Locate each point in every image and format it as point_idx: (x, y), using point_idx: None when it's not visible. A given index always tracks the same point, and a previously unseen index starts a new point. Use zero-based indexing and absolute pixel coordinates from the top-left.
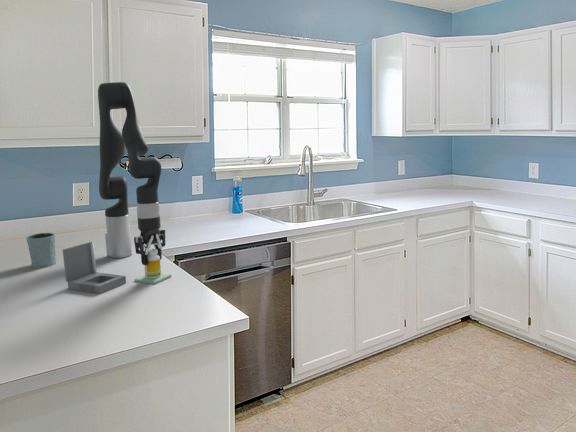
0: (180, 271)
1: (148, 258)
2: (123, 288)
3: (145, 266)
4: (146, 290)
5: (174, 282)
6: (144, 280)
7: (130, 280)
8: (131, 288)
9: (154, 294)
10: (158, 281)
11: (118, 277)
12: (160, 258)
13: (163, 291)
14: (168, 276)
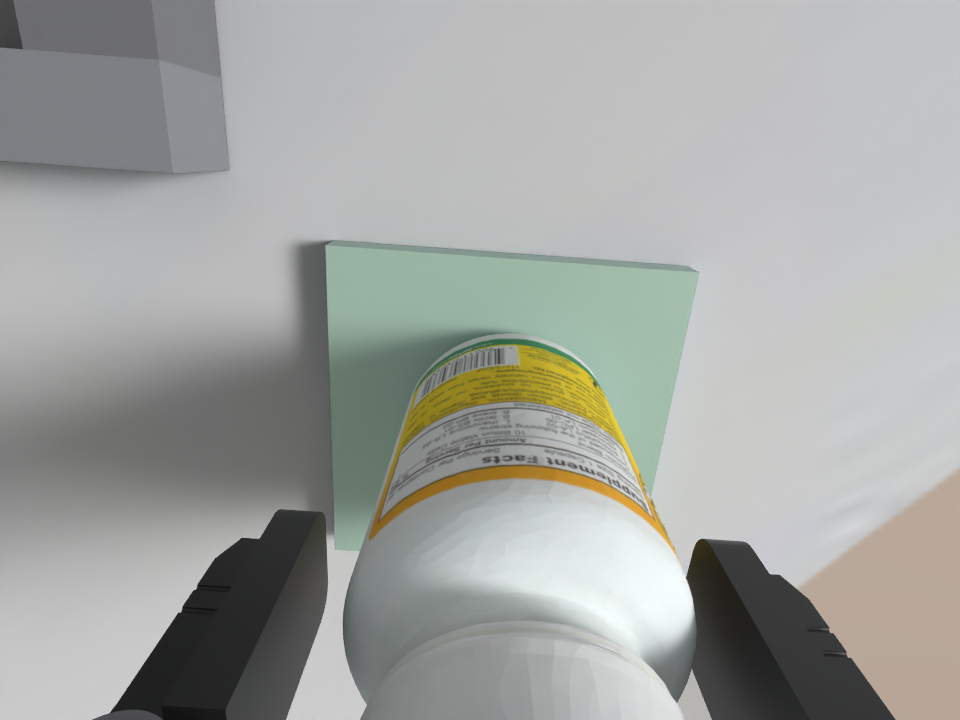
0: (847, 538)
1: (354, 674)
2: (52, 289)
3: (387, 470)
4: (143, 557)
5: None
6: (331, 411)
7: (347, 152)
8: (106, 381)
9: (100, 668)
10: None
11: (45, 107)
12: None
13: None
14: None
